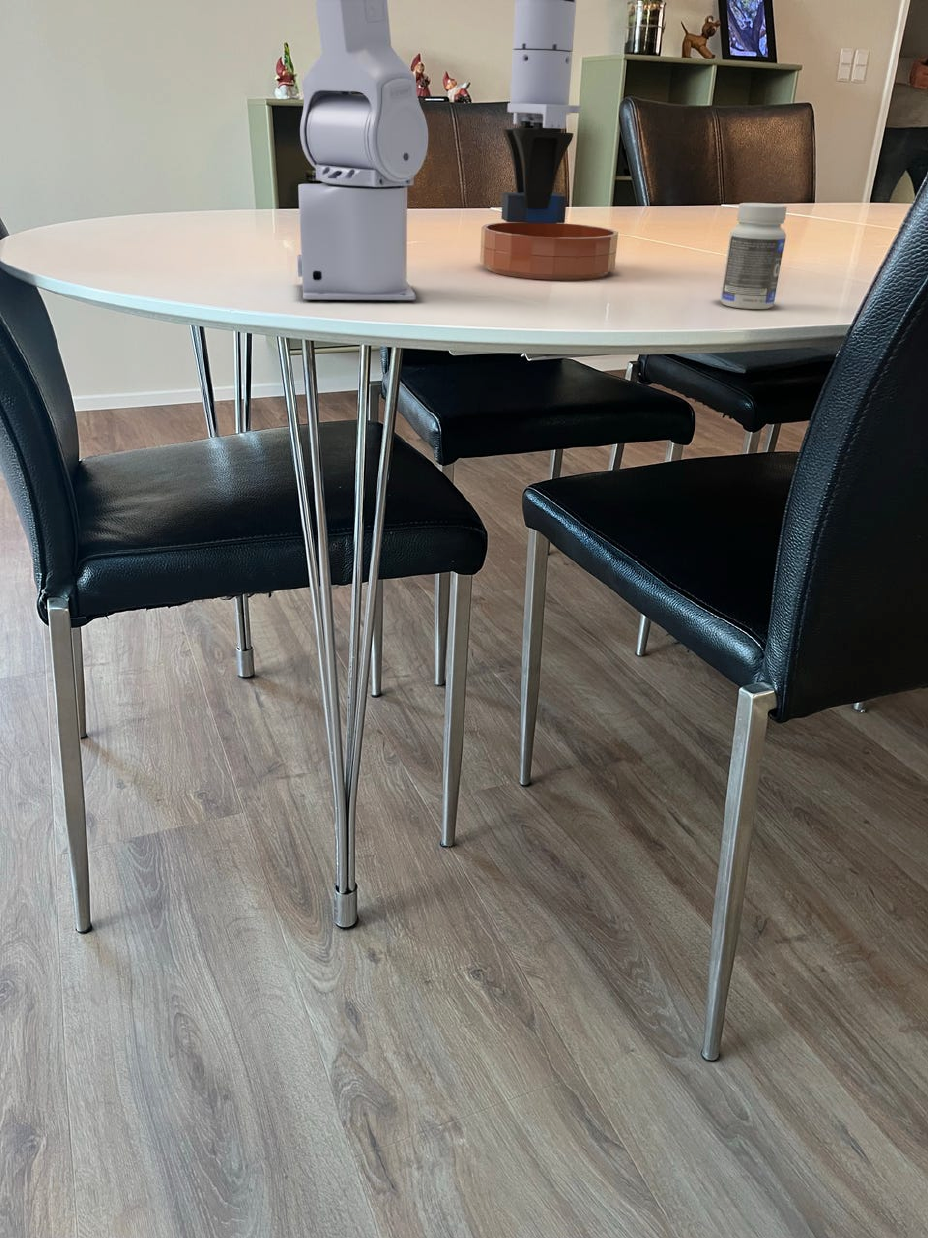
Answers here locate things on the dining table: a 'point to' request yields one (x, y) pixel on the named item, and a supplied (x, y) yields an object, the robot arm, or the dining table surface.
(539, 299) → the dining table surface
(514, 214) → the eraser
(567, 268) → the bowl
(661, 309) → the dining table surface
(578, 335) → the dining table surface
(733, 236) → the pill bottle
